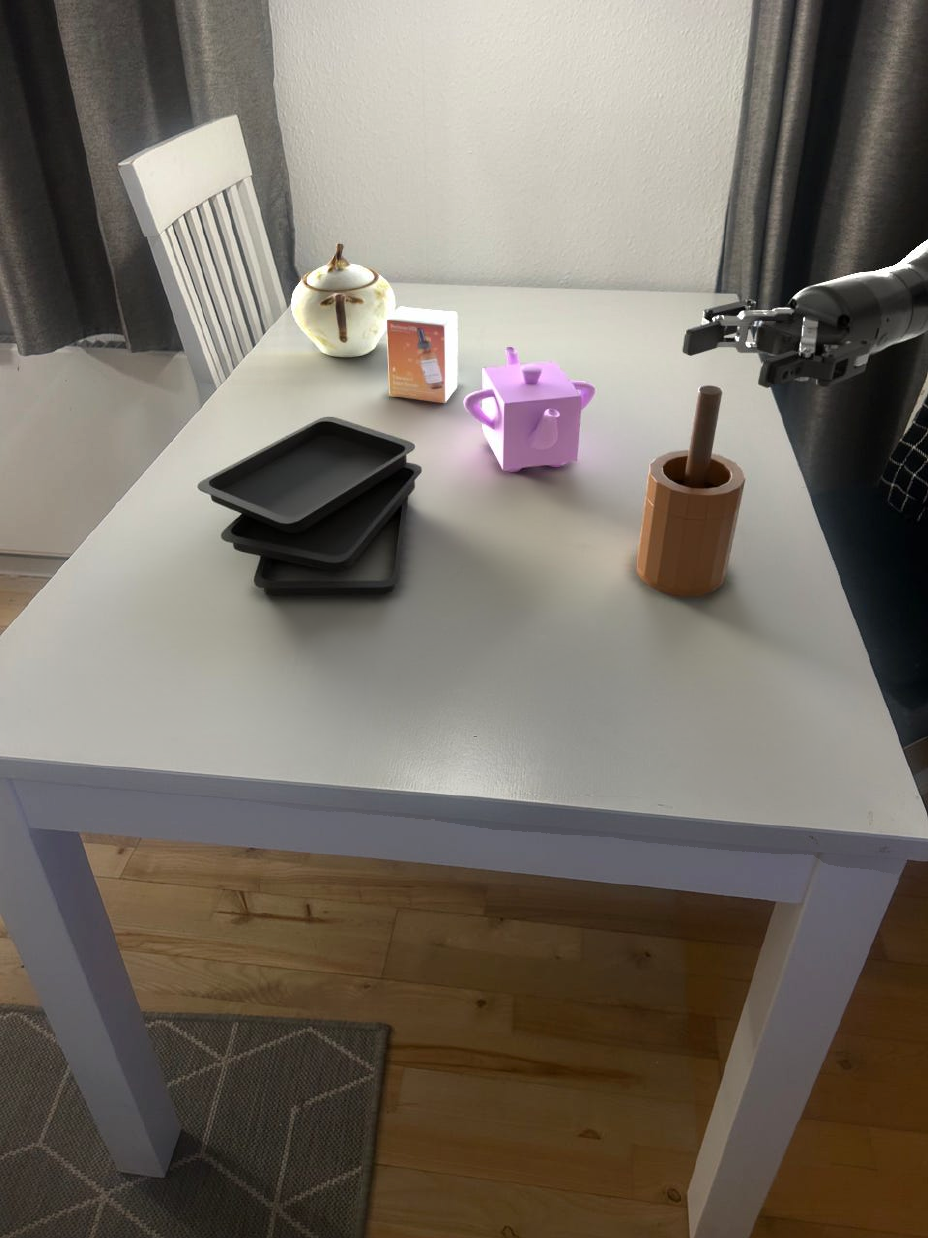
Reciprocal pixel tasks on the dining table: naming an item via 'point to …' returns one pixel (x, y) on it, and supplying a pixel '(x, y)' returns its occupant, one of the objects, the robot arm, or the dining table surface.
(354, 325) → the sugar bowl
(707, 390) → the brush
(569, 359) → the dining table surface
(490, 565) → the dining table surface
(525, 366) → the teapot
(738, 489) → the brown cylindrical holder
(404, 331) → the small box
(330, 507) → the tray
